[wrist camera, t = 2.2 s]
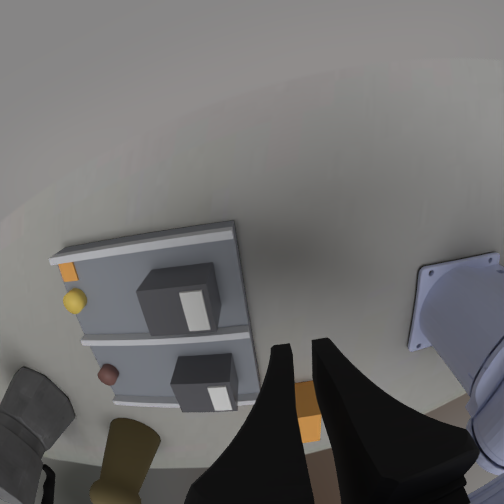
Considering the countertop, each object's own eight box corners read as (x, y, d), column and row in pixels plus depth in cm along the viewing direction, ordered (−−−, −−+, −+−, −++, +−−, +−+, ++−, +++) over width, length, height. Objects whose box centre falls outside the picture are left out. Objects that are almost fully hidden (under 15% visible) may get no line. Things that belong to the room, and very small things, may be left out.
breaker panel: (233, 220, 18) (231, 231, 16) (260, 383, 23) (261, 405, 21) (64, 247, 19) (47, 259, 16) (122, 387, 24) (114, 406, 21)
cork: (102, 414, 25) (70, 492, 15) (150, 420, 25) (126, 509, 15) (122, 444, 27) (99, 515, 17) (167, 450, 27) (151, 528, 17)
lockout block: (313, 379, 23) (321, 414, 19) (313, 407, 25) (319, 440, 21) (267, 386, 23) (269, 421, 20) (271, 413, 25) (273, 446, 21)
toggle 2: (231, 352, 20) (229, 383, 17) (238, 381, 21) (237, 412, 18) (178, 356, 20) (169, 386, 17) (188, 384, 21) (182, 413, 18)
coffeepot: (-4, 352, 23) (-78, 446, 6) (38, 350, 23) (-49, 477, 6) (59, 436, 28) (18, 528, 11) (107, 443, 28) (70, 556, 11)
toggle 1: (212, 262, 18) (205, 285, 15) (221, 305, 19) (217, 333, 16) (151, 269, 18) (134, 292, 15) (163, 310, 19) (150, 338, 16)
